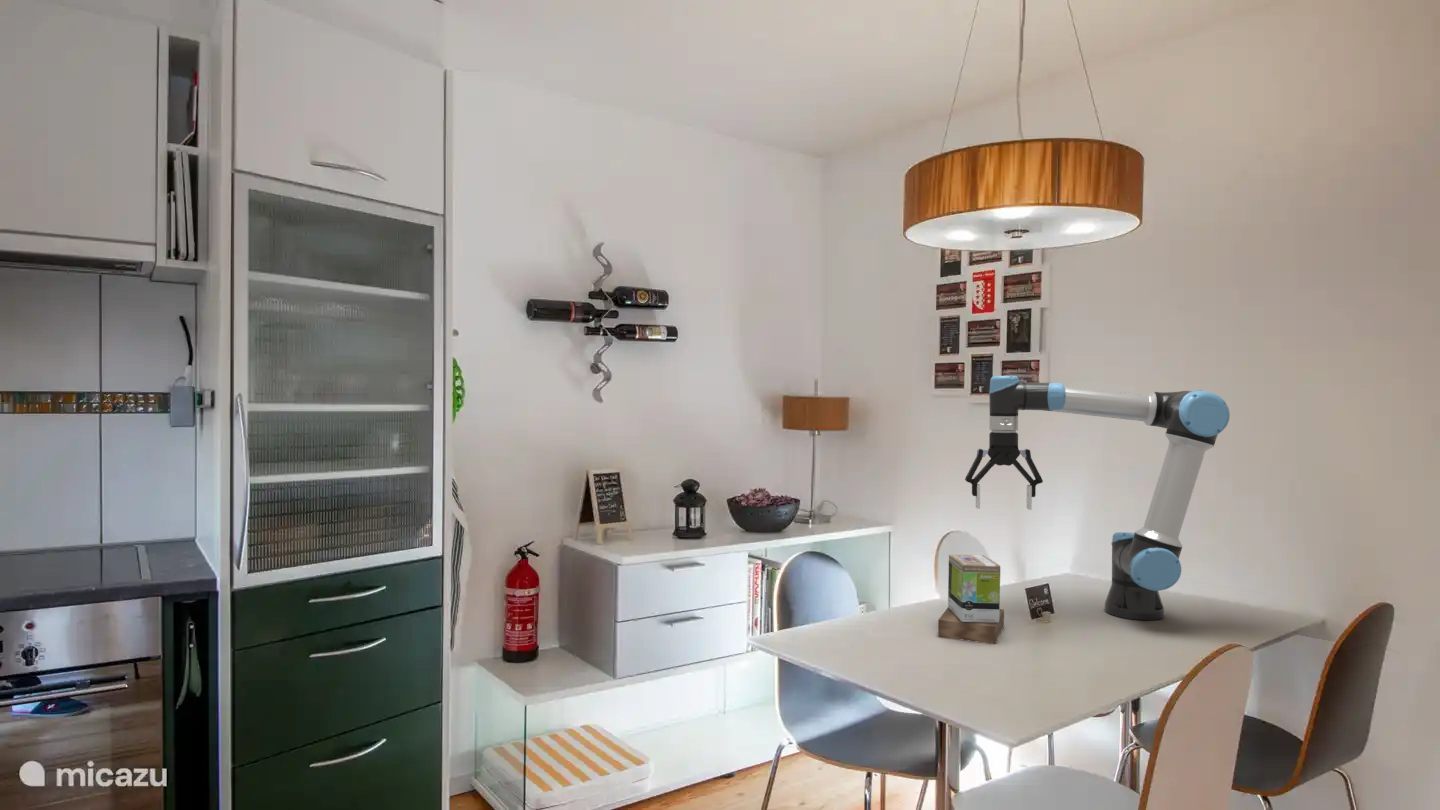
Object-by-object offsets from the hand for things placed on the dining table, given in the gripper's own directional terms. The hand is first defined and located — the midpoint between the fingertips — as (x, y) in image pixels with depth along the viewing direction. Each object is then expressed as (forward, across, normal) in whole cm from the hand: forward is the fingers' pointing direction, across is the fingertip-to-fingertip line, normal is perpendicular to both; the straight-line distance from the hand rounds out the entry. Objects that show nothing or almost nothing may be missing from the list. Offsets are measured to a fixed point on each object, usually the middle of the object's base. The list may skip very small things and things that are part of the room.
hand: (1003, 508), depth 230 cm
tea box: (+26, -10, -14) cm, 32 cm away
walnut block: (+31, -10, -14) cm, 36 cm away
